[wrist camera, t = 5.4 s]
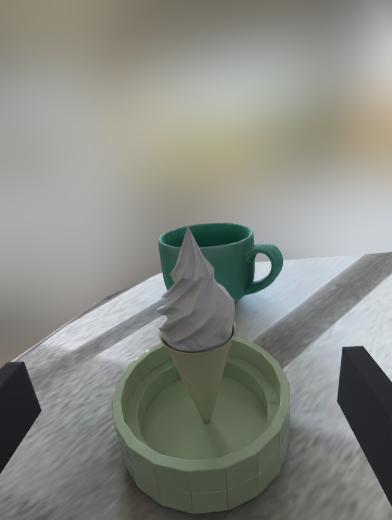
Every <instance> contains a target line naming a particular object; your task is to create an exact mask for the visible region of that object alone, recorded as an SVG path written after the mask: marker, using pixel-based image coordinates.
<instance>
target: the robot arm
mask: <svg viewBox="0 0 392 520" xmlns="http://www.w3.org/2000/svg"><path fill="white" fill-rule="evenodd" d="M337 402H338V404H339V406H340V408H341V409H342V411H343V413H344V415H345V417H346V419H347V421H348V423H349V425H350V427H351V429H352V431H353V433H354V435H355V436H356V438H357V440H358V442H359V444H360V446H361V448H362V450H363V452H364V454H365V456H366V458H367V460H368V462H369V463H370V465H371V467H372V469H373V471H374V473H375V475H376V477H377V479H378V481H379V483H380V485H381V487H382V489H383V490H384V492H385V494H386V496H387V498H388V500H389V502H390V504H391V506H392V382H391V381H390V379H389V378H388V377H387V376H386V374H385V373H384V372H383V371H382V369H381V368H380V367H379V366H378V364H377V363H376V362H375V361H374V359H373V358H372V357H371V356H370V354H369V353H368V352H367V351H366V349H365V348H364V347H363V346H353V347H343V348H342V358H341V368H340V378H339V388H338V398H337ZM40 412H41V408H40V405H39V402H38V399H37V397H36V394H35V391H34V388H33V386H32V383H31V380H30V377H29V374H28V372H27V369H26V366H25V363H24V362H7V363H6V364H5V365H4V366H3V367H2V368H1V369H0V473H1V472H2V470H3V469H4V467H5V466H6V464H7V463H8V461H9V460H10V458H11V457H12V455H13V454H14V452H15V451H16V449H17V447H18V446H19V444H20V443H21V441H22V440H23V438H24V437H25V435H26V434H27V432H28V431H29V429H30V428H31V426H32V425H33V423H34V422H35V420H36V418H37V417H38V415H39V414H40Z"/></svg>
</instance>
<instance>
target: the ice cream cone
mask: <svg viewBox="0 0 392 520" xmlns="http://www.w3.org/2000/svg"><path fill="white" fill-rule="evenodd" d="M170 276H171V277H172V279H173V281H174V282H175V283H174V284H173V286H172V287H171V288H170V289H169V290H168V291H167V292H165V293H164V294H163V295H162V297H164V298H167V299H168V300H169V302H168V303H167V304H166V305H164V306H162V307H160V308H158V309H157V311H158V313H159V314H161V315H166V316H167V317H168V320H167V321H166V322H165V323H164V324H161V325H160V326H159V330H160V332H159V337H160V340H161V342H162V344H163V345H164V346H165V347H166V348H167V350H168V352H169V354H170V356H171V358H172V360H173V362H174V364H175V366H176V368H177V370H178V372H179V374H180V376H181V378H182V380H183V382H184V384H185V386H186V388H187V390H188V392H189V394H190V396H191V397H192V399H193V401H194V403H195V405H196V407H197V409H198V411H199V413H200V415H201V417H202V419H203V421H204V422H205V423H209V422H210V420H211V416H212V412H213V409H214V405H215V401H216V398H217V394H218V390H219V387H220V383H221V379H222V376H223V371H224V367H225V364H226V360H227V356H228V353H229V349H230V345H231V341H232V339H233V338H234V336H235V334H236V325H235V322H234V319H235V303H234V300H233V298H232V297H231V296H230V295H229V293H228V292H227V291H226V289H225V288H224V287H223V286H222V285H220V284H218V283H217V281H216V280H215V279H214V267H213V266H212V265H211V264H210V263H209V262H208V261H207V260H206V258H205V257H204V256H203V255H202V253H201V251H200V249H199V247H198V245H197V243H196V241H195V239H194V237H193V235H192V233H191V231H190V229H189V226H187V228H186V233H185V236H184V239H183V243H182V246H181V249H180V252H179V256H178V259H177V262H176V265H175V268H174V269H173V271H172V272H171V274H170Z"/></svg>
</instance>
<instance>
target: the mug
mask: <svg viewBox="0 0 392 520" xmlns="http://www.w3.org/2000/svg"><path fill="white" fill-rule="evenodd" d="M186 228H187V226H185V227H181V228H177V229H174V230H171V231H168V232H166V233H164V234H163V235H161V236H160V238H159V240H158V241H159V242H158V243H159V252H160V260H161V267H162V272H163V278H164V282H165V285H166V288H167V290H169V289H170V288H171V287H172V286H173V284H174V283H175V282H174V281H173V279H172V277H171V276H170V274H171V272H172V271H173V269H174V268H175V265H176V262H177V259H178V256H179V252H180V249H181V246H182V243H183V239H184V236H185V233H186ZM189 229H190V231H191V233H192V235H193V237H194V239H195V241H196V243H197V245H198V247H199V249H200V251H201V253H202V255H203V256H204V257H205V258H206V260H207V261H208V262H209V263H210V264H211V265H212V266H213V267H214V279H215V280H216V281H217V283H218V284H220V285H222V286H223V287H224V288H225V289H226V291H227V292H228V293H229V295H230V296H231V297H232V298H233V300H234V302H236V301H238V300H239V299H241V298H242V297H243V296H244V295H248V294H253V293H256V292H258V291H260V290H262V289H264V288H266V287H268V286H269V285H270V284H271V283H272V282H273V281H274V280H275V279H276V277H277V276H278V275H279V273H280V271H281V269H282V266H283V258H282V254H281V252H280V250H279V249H278V248H277V247H276V246H275V245H273V244H270V243H261V244H257V245H255V246H254V235H253V231H252V230H251V229H250V228H249V227H247V226H244V225H239V224H233V223H206V224H198V225H190V226H189ZM257 253H263V254H266V255H267V256H268V257H269V259H270V261H271V264H272V268H271V272H270V273H269V275H268V276H266V277H265V278H263V279H261V280H259V281H255V282H253V280H254V272H255V257H256V254H257Z"/></svg>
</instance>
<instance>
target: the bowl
mask: <svg viewBox="0 0 392 520" xmlns="http://www.w3.org/2000/svg"><path fill="white" fill-rule="evenodd" d="M112 408H113V417H114V425H115V429H116V433H117V437H118V441H119V445H120V449H121V453H122V457H123V461H124V464H125V466H126V468H127V469H128V471H129V473H130V475H131V476H132V478H133V480H134V482H135V483H136V485H137V486H138V488H139V489H141V490H142V491H143V492H145V493H146V494H147V495H149V496H150V497H151V498H152V499H154V500H155V501H156V502H158V503H159V504H160V505H163V506H166V507H169V508H173V509H176V510H180V511H184V512H187V513H191V514H193V513H194V514H200V513H210V512H219V511H227V510H231V509H233V508H235V507H237V506H239V505H241V504H243V503H244V502H246V501H248V500H250V499H252V498H254V497H256V496H258V495H259V494H260V493H261V492H262V491H263V490H264V489H265V488H266V487H267V486H268V484H269V483H270V482H271V481H272V480H273V479H274V478H275V477H276V476H277V474H278V473H279V471H280V469H281V466H282V464H283V461H284V458H285V455H286V453H287V450H288V447H289V426H290V387H289V383H288V380H287V378H286V376H285V374H284V372H283V370H282V367H281V365H280V364H279V363H278V362H277V361H276V360H275V359H274V358H273V357H272V356H271V355H270V354H269V353H268V352H267V351H266V350H265V349H263V348H261V347H259V346H258V345H256V344H254V343H252V342H251V341H249V340H246V339H243V338H239V337H236V336H234V338H233V339H232V341H231V345H230V349H229V353H228V356H227V360H226V364H225V367H224V371H223V376H222V379H221V383H220V387H219V390H218V394H217V398H216V401H215V405H214V409H213V412H212V416H211V420H210V422H209V423H205V422H204V421H203V419H202V417H201V415H200V413H199V411H198V409H197V407H196V405H195V403H194V401H193V399H192V397H191V396H190V394H189V392H188V390H187V388H186V386H185V384H184V382H183V380H182V378H181V376H180V374H179V372H178V370H177V368H176V366H175V364H174V362H173V360H172V358H171V356H170V354H169V352H168V350H167V348H166V347H165V346H164V345H163V344H162V343H160V344H158V345H156V346H154V347H152V348H150V349H148V350H147V351H145V352H144V353H143V354H142V355H140V356H139V357H138V358H137V359H136V360H134V361H133V362H132V363H131V364H130V365H129V366H128V368H127V369H126V371H125V372H124V374H123V375H122V376H121V378H120V379H119V381H118V383H117V387H116V390H115V394H114V397H113V400H112Z"/></svg>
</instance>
